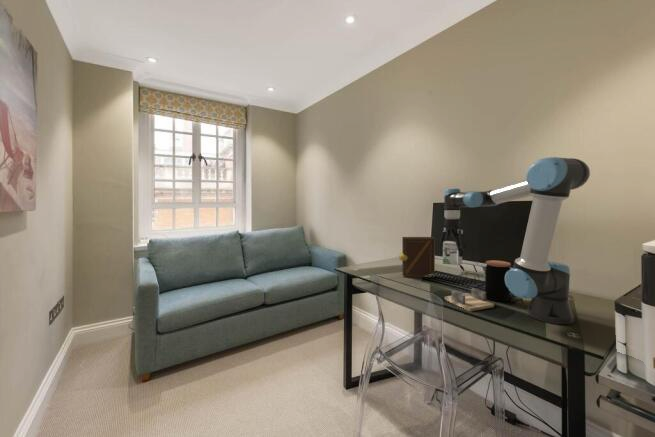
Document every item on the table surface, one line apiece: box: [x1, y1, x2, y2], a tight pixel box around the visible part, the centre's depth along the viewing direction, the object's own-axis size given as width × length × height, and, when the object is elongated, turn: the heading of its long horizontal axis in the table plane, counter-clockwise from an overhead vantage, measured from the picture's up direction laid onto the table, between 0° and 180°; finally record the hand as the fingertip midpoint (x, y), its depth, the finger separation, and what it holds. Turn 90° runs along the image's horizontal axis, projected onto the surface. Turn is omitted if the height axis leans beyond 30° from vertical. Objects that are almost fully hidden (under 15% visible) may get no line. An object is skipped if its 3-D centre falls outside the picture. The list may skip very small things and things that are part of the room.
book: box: [398, 236, 436, 279], centre depth 184 cm, size 22×8×25 cm, turn 82°
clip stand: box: [444, 287, 495, 312], centre depth 136 cm, size 16×14×6 cm
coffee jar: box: [484, 259, 512, 303], centre depth 141 cm, size 11×11×18 cm
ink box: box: [442, 240, 463, 267], centre depth 151 cm, size 9×5×12 cm, turn 51°
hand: (452, 260), depth 151 cm, fingers closed on ink box, 9 cm apart
